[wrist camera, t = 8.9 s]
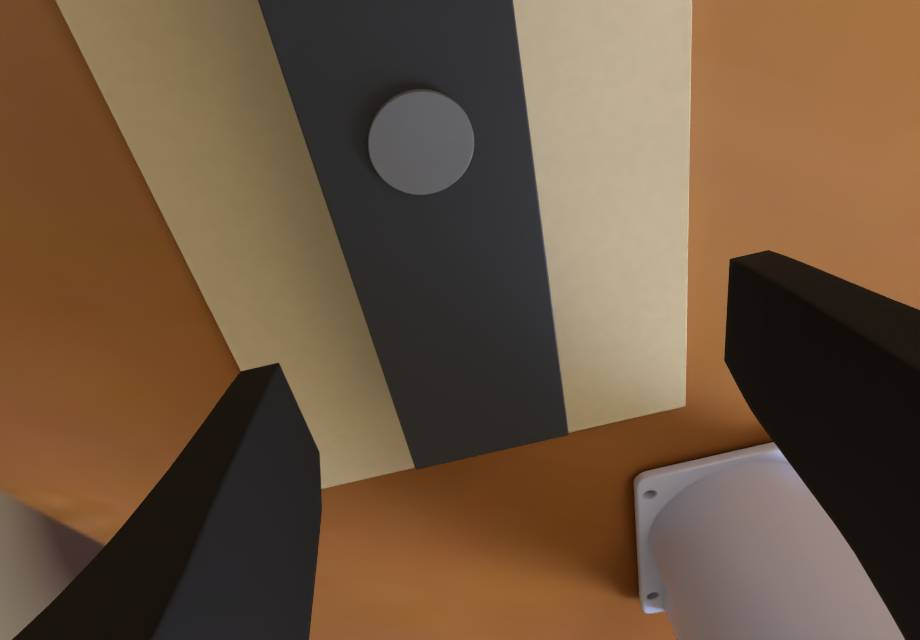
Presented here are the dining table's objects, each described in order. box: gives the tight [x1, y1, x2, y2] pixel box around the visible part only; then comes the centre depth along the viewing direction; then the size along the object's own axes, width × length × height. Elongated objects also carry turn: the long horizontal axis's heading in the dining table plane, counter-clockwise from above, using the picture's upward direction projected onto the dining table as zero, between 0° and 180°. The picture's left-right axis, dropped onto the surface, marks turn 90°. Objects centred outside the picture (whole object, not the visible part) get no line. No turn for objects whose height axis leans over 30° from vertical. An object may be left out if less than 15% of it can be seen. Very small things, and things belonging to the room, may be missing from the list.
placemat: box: [55, 0, 692, 489], centre depth 17 cm, size 22×14×1 cm, turn 10°
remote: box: [258, 0, 569, 469], centre depth 16 cm, size 16×5×3 cm, turn 10°
